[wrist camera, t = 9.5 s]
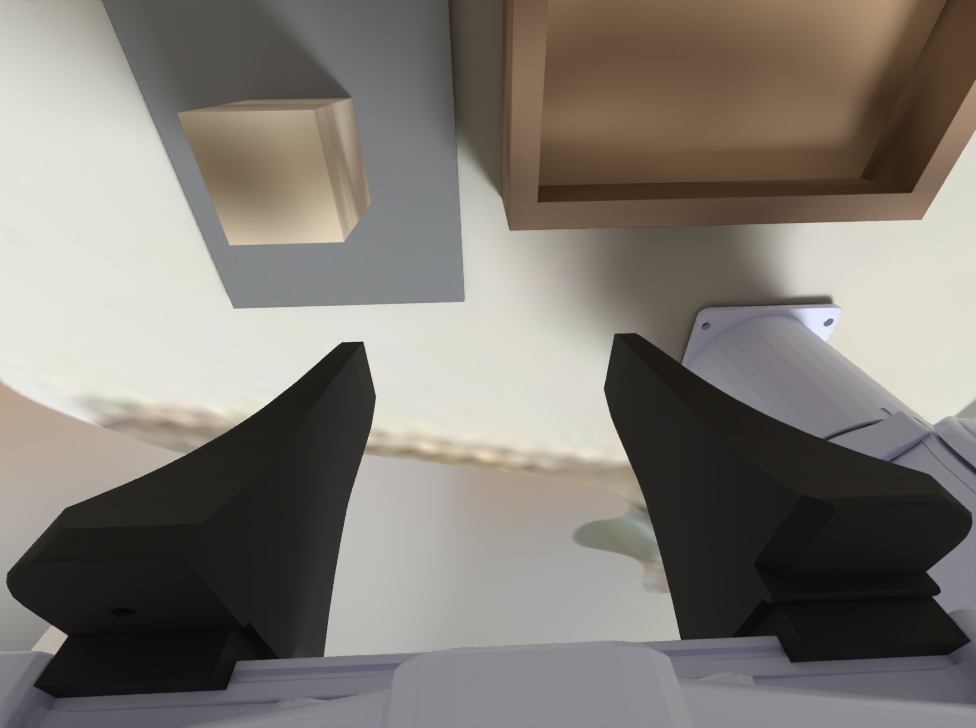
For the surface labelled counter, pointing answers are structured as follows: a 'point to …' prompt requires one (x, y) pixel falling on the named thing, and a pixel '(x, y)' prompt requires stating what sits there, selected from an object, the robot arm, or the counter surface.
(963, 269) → the counter surface
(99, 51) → the counter surface
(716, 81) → the walnut crate
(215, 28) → the grey mat
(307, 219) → the birch block
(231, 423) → the counter surface
